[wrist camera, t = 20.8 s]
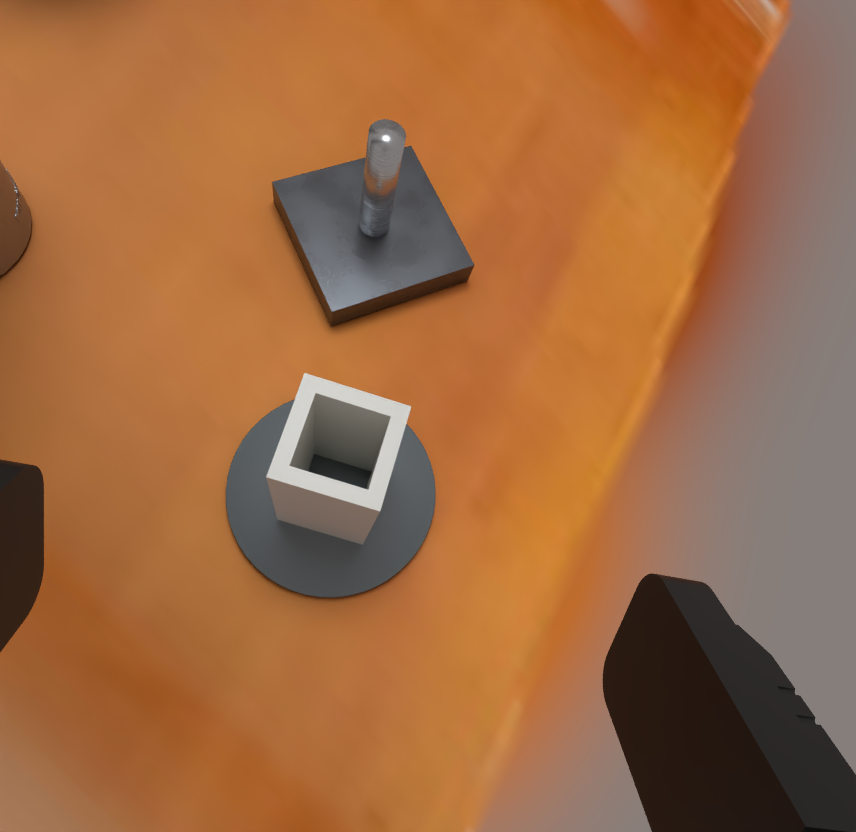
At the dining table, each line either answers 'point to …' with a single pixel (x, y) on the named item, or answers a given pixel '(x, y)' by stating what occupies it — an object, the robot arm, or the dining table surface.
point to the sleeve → (335, 457)
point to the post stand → (371, 229)
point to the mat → (317, 552)
